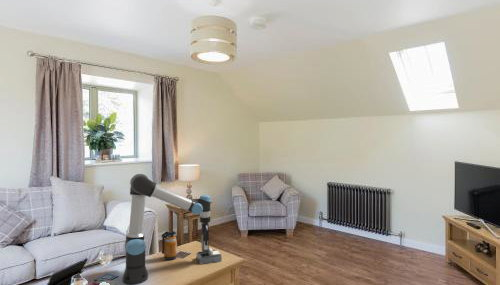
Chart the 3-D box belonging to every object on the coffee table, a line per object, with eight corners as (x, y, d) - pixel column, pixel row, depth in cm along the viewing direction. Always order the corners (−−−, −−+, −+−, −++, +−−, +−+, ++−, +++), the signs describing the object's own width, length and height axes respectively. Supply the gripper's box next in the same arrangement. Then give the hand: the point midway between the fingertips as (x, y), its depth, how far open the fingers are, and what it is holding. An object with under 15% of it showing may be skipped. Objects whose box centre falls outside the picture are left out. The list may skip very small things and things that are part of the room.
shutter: (210, 255, 224) (211, 251, 224) (208, 252, 230) (208, 248, 230) (220, 254, 226) (220, 250, 226) (217, 251, 233) (217, 247, 233)
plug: (202, 251, 223) (202, 232, 223) (201, 250, 227) (201, 230, 227) (208, 251, 225) (208, 231, 225) (207, 249, 229) (207, 229, 228)
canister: (177, 259, 226) (177, 232, 226) (161, 261, 223) (161, 233, 223) (176, 255, 235) (176, 229, 235) (161, 256, 232) (161, 230, 231)
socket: (199, 264, 218) (199, 257, 218) (196, 258, 229) (196, 251, 229) (221, 261, 224) (221, 254, 224) (217, 255, 235) (217, 249, 235)
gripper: (213, 218, 219) (213, 251, 219) (207, 213, 235) (207, 244, 235) (202, 219, 216) (202, 253, 216) (197, 214, 232) (197, 245, 232)
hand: (205, 248), depth 226 cm, fingers closed on plug, 4 cm apart
